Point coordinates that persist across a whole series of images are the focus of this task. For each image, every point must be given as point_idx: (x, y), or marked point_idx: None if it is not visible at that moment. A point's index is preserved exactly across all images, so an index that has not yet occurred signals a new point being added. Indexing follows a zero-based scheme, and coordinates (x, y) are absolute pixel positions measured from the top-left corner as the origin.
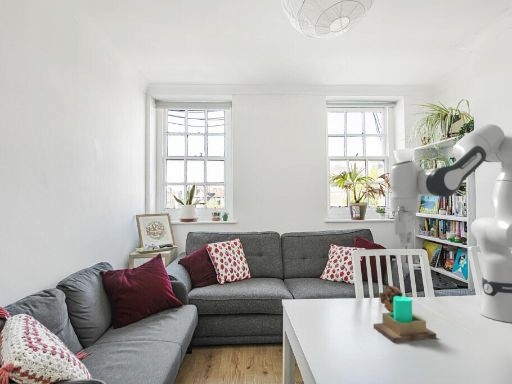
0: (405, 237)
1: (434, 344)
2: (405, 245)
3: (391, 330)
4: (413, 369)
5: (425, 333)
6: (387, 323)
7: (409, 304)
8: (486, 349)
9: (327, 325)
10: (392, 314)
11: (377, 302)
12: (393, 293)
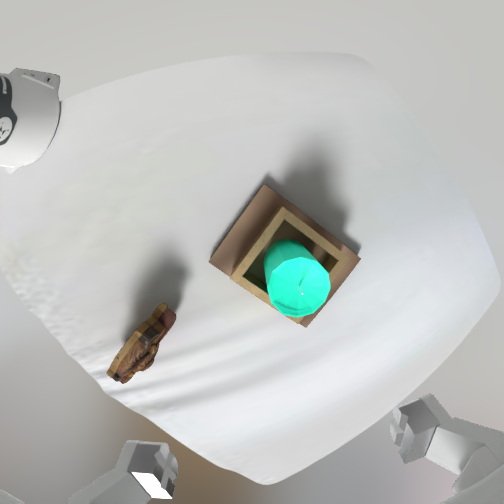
0: (500, 432)
1: (305, 178)
2: (433, 401)
3: None
4: (434, 188)
5: (282, 206)
6: None
7: (310, 257)
8: (251, 85)
9: (349, 391)
10: None
11: None
12: (153, 349)
